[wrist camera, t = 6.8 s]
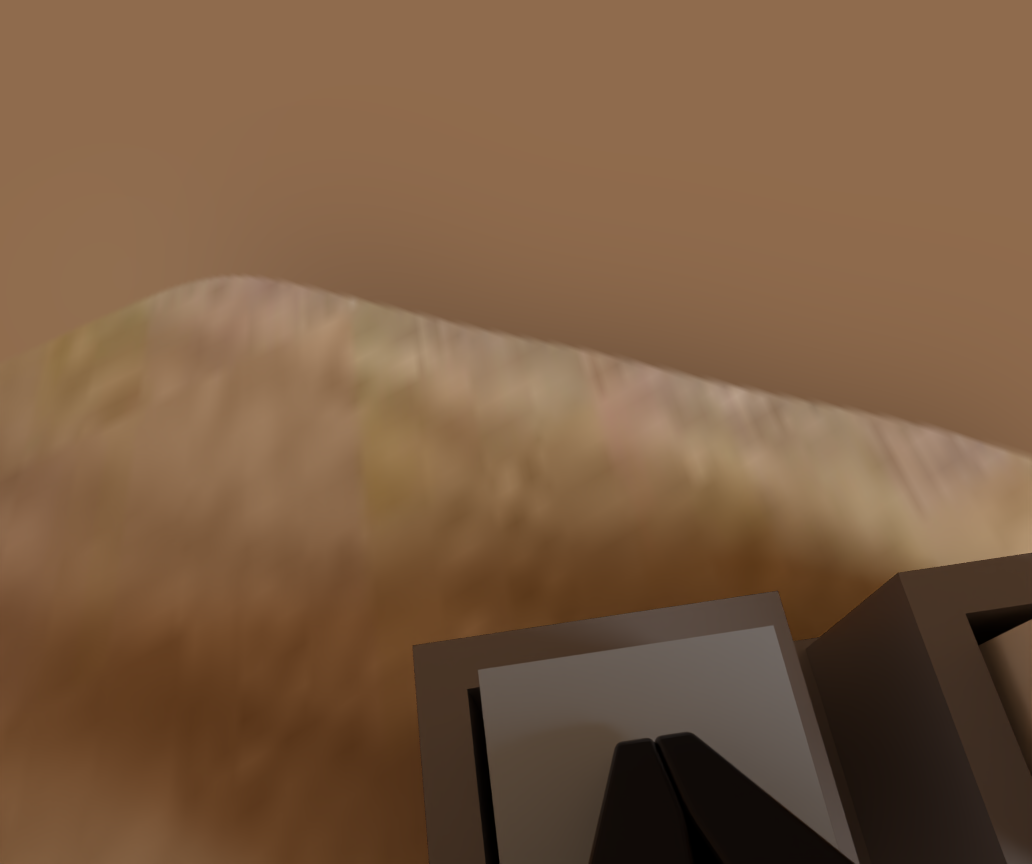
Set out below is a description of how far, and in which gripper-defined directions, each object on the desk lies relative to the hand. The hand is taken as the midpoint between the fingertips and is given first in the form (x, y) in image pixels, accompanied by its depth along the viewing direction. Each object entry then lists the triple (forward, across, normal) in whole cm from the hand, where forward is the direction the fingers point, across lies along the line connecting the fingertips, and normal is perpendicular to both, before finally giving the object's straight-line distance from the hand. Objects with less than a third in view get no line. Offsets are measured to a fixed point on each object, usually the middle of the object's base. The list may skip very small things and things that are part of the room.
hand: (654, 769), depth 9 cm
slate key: (+5, 0, +5) cm, 7 cm away
